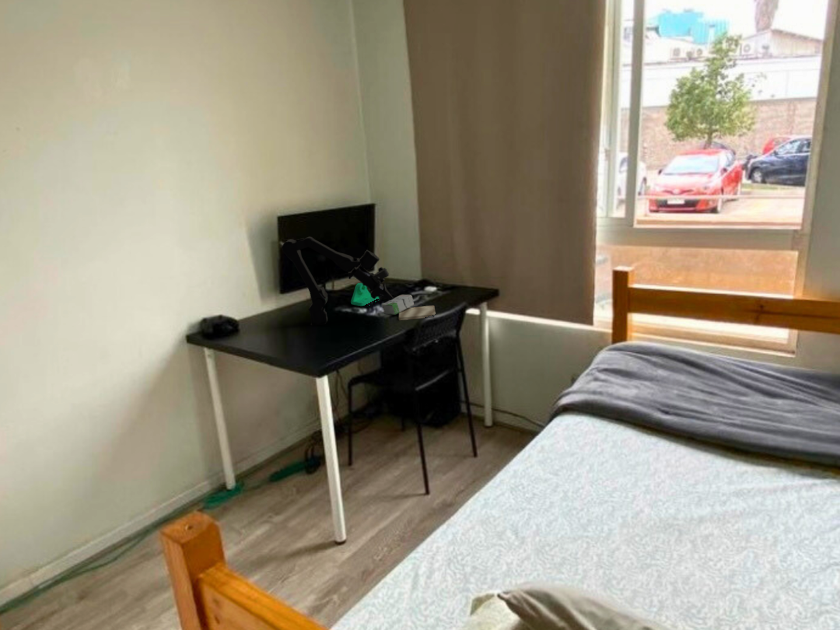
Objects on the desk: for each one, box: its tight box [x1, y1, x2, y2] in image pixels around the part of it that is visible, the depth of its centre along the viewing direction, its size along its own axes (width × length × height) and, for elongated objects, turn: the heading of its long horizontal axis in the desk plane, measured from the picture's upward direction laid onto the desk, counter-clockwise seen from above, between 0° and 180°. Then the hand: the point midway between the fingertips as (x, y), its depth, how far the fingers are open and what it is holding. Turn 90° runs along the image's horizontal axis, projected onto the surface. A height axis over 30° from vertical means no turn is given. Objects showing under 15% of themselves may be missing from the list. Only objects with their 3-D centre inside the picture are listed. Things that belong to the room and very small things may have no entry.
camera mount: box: [350, 282, 380, 307], centre depth 274 cm, size 12×8×10 cm, turn 136°
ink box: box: [381, 294, 415, 315], centre depth 255 cm, size 9×5×12 cm
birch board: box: [398, 305, 436, 321], centre depth 250 cm, size 16×14×1 cm
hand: (392, 299), depth 248 cm, fingers closed
